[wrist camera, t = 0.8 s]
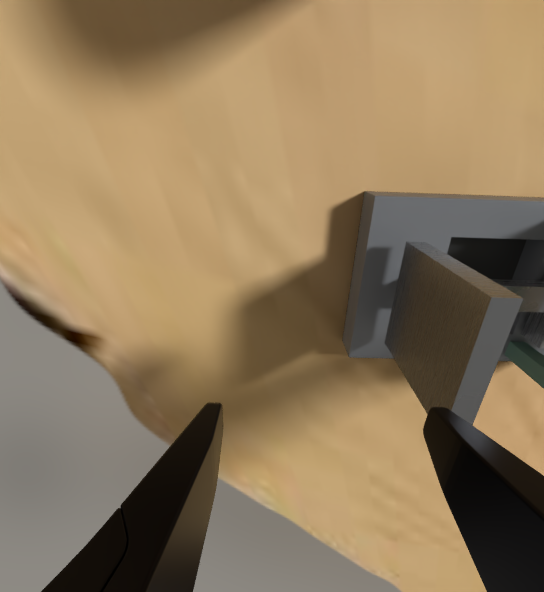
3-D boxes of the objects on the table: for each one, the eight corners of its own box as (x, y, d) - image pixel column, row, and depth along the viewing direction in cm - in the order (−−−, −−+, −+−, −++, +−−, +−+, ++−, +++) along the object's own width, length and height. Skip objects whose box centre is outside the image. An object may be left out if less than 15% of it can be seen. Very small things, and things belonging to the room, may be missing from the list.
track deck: (754, 205, 18) (807, 210, 17) (661, 348, 23) (695, 365, 21) (364, 191, 18) (375, 195, 16) (342, 340, 22) (349, 357, 20)
